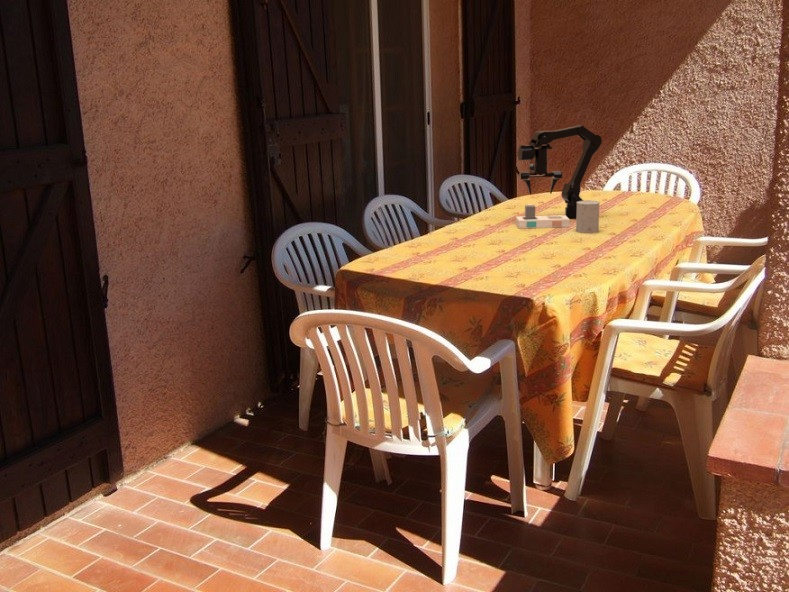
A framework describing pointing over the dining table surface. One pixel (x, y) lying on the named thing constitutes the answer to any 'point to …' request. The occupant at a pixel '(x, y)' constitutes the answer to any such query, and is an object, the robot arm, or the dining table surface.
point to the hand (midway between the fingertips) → (540, 194)
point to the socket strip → (543, 222)
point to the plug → (529, 211)
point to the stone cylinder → (587, 216)
